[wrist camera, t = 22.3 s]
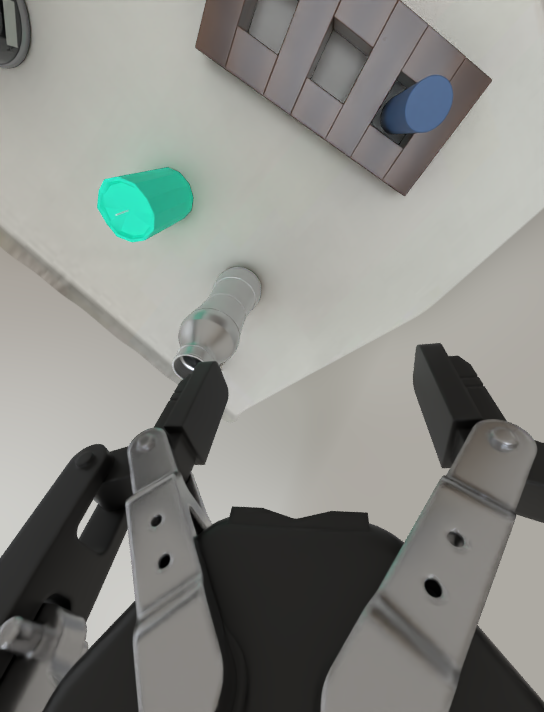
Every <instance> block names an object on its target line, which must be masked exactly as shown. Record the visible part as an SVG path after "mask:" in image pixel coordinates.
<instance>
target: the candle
mask: <svg viewBox="0 0 544 712" xmlns="http://www.w3.org/2000/svg"><path fill="white" fill-rule="evenodd" d="M192 203H193V195H192V191H191V188H190V185H189V183H188V182H187V181H186V179H185V178H184V177H183V176H182V174H181V173H180V172H178V171H175V170H173V169H171V168H169V167H166V168H161V169H155V170H150V171H145V172H139V173H134V174H129V175H123V176H118V177H113V178H108V179H104V181H103V183H102V185H101V187H100V189H99V194H98V204H97V208H98V210H99V211H100V213H101V215H102V217H103V218H104V220H105V222H106V223H107V225H108V226H109V227H110V228H111V230H112V231H113V232H114V233H115V235H116V236H117V237H120V238H122V239H125V240H127V241H130V242H137V241H143V240H146V239H148V238H150V237H152V236H153V235H155V234H157V233H159V232H161V231H162V230H164V229H166V228H168V227H169V226H171V225H173V224H175V223H177V222H178V221H180V220H182V219H184V218H185V217H186V216H187V215H188V213H189V212H190V211H191V209H192Z"/></svg>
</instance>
